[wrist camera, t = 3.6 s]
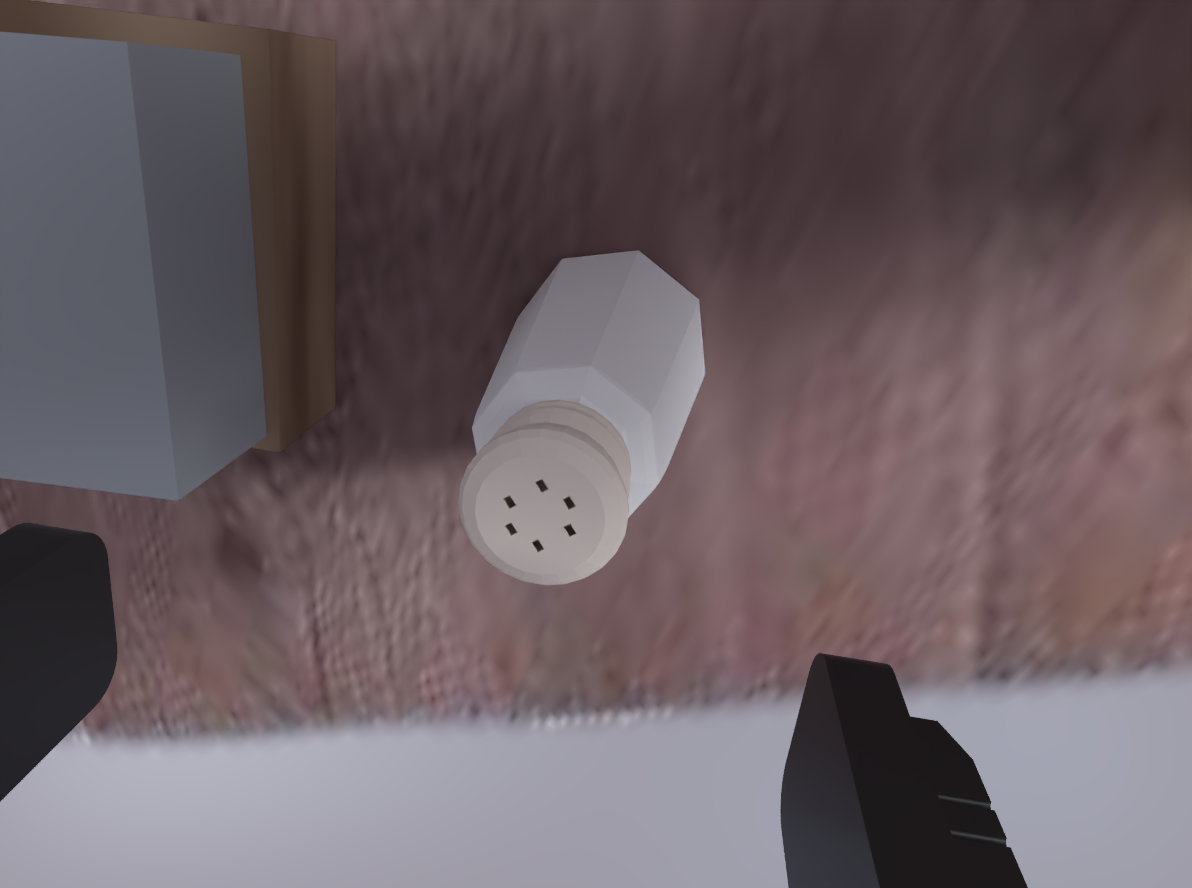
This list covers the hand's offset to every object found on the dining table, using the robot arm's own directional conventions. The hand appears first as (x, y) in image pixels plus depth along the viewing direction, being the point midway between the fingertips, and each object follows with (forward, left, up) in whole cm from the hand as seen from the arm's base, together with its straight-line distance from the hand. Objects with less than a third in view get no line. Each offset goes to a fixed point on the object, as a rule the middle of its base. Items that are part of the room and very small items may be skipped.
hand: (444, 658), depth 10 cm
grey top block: (+13, -1, -12) cm, 17 cm away
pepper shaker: (0, 0, -16) cm, 16 cm away
